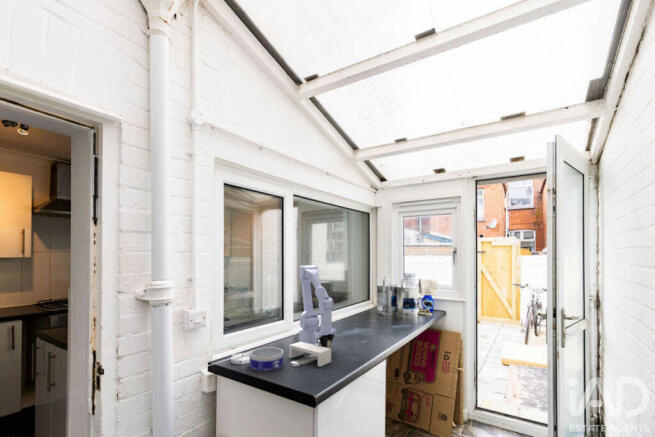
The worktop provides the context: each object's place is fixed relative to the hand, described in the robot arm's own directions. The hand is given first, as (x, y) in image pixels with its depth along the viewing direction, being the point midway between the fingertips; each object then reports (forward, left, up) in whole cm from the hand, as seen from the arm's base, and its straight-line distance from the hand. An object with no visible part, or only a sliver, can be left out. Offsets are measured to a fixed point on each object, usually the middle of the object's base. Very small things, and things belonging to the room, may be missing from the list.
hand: (326, 349), depth 165 cm
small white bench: (0, -13, -2) cm, 13 cm away
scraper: (0, -9, -2) cm, 9 cm away
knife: (-27, +23, -3) cm, 36 cm away
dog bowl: (-10, -31, -2) cm, 32 cm away
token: (0, -22, -2) cm, 22 cm away
